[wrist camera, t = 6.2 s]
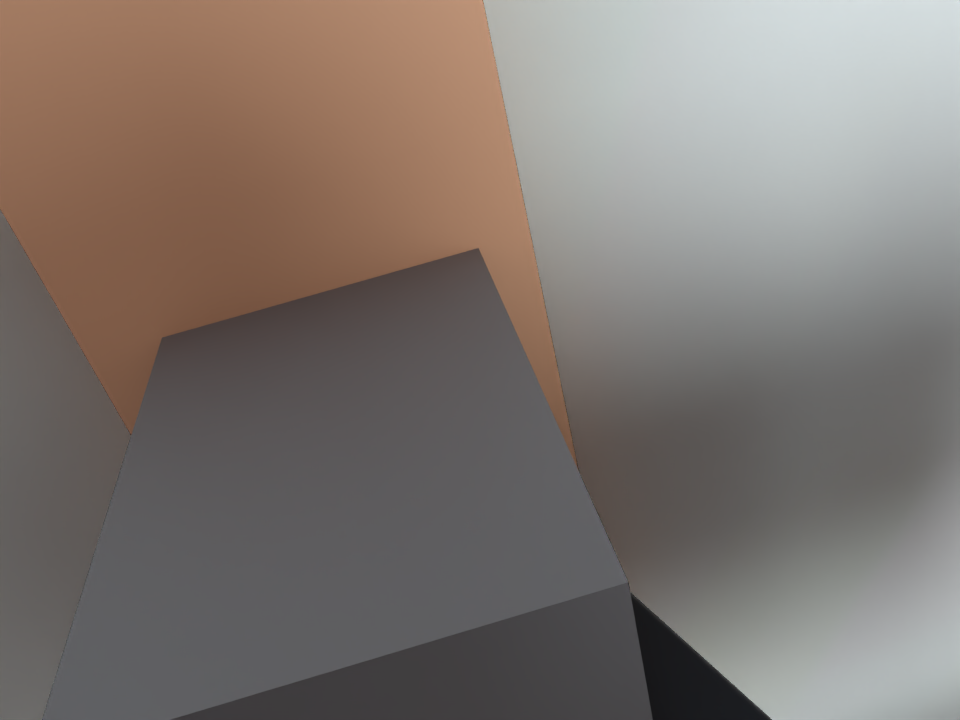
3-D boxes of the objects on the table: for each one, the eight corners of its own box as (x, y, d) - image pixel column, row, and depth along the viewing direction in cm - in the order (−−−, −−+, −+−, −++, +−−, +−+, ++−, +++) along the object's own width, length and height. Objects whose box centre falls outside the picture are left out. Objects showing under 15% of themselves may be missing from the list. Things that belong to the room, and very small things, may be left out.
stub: (638, 808, 15) (778, 1204, 10) (415, 878, 15) (461, 1307, 10) (404, -285, 6) (630, -641, 2) (-136, -145, 6) (-1248, -183, 2)
